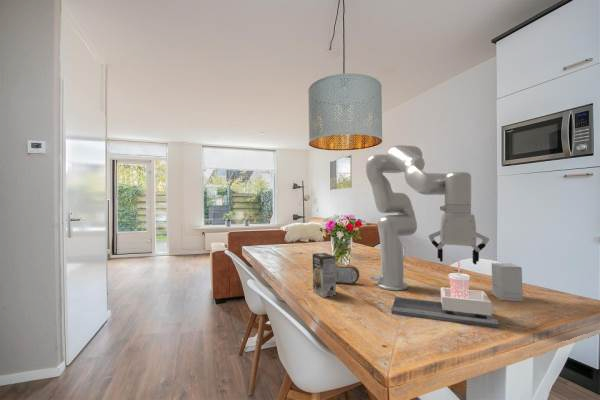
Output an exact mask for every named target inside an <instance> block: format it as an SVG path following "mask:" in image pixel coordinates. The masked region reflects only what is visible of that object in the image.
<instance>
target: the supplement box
mask: <svg viewBox="0 0 600 400" xmlns="http://www.w3.org/2000/svg"><path fill="white" fill-rule="evenodd" d="M522 271H523V269H522V266H519V265H517V264H513V263H506V262H495V263H494V262H492V263H491V284H492V288H491V290H492V295H493V296H494V297H496V298H497V299H499V300H501V301H507V302H509V301H511V302H523V300H524V295H523V293H524V291H523V272H522Z"/></svg>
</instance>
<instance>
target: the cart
mask: <svg viewBox="0 0 600 400" xmlns="http://www.w3.org/2000/svg"><path fill="white" fill-rule="evenodd" d="M440 302H441V303H442V310H446V314H453V311H457V312H465V313H473V314H479V318H487V316H486V315H490V316H492V315H493V313H492V301H491V299H490V298H489V297H488V295H487V293H486V291H483V290H474V289H469V294H468V299H466V298H456V297H451V287H443V286H442V287H440ZM491 313H492V314H491Z"/></svg>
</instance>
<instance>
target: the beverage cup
mask: <svg viewBox="0 0 600 400" xmlns="http://www.w3.org/2000/svg"><path fill="white" fill-rule="evenodd" d="M460 260H461V259H457V269H458V270H457V272H451V273H448V278H449V285H450V286H449V288H451V297H456V298H466V299H468V294H469V290H470V289H469V288H470V279H471V276H470V275H469V274H466V273H461V268H460V267H461V265H460V264H461V263H460V262H461V261H460Z"/></svg>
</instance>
